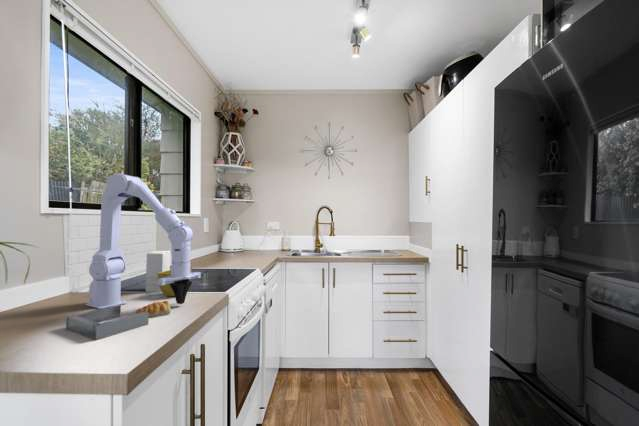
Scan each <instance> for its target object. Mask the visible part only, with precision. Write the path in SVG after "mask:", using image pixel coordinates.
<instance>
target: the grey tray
mask: <svg viewBox="0 0 639 426" xmlns="http://www.w3.org/2000/svg"><path fill="white" fill-rule="evenodd" d="M121 305H122V304H121ZM121 305H114V306H110V307H105V308H101V309H98V308H96V309H92V310H89V311H84V312H81V313H75V314H72V315H70V314H69V315H67V316H65V329H66V330H68V331H71V332H73V333H76V334H79V335H80V336H84V337H86V338H90V339H92V340H95V341H98V340H102V339H105V338H108V337H111V336H114V335H117V334H121V333H125V332H127V331H131V330H133V329H137V328H140V327H144V326H148V325H149V318H150V317H149V312H142V313H138V314H135V313H134V314H131V315H127V316H124V317H121V308H122V306H121ZM108 320H109V321H108ZM104 321H105V322H104Z"/></svg>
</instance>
